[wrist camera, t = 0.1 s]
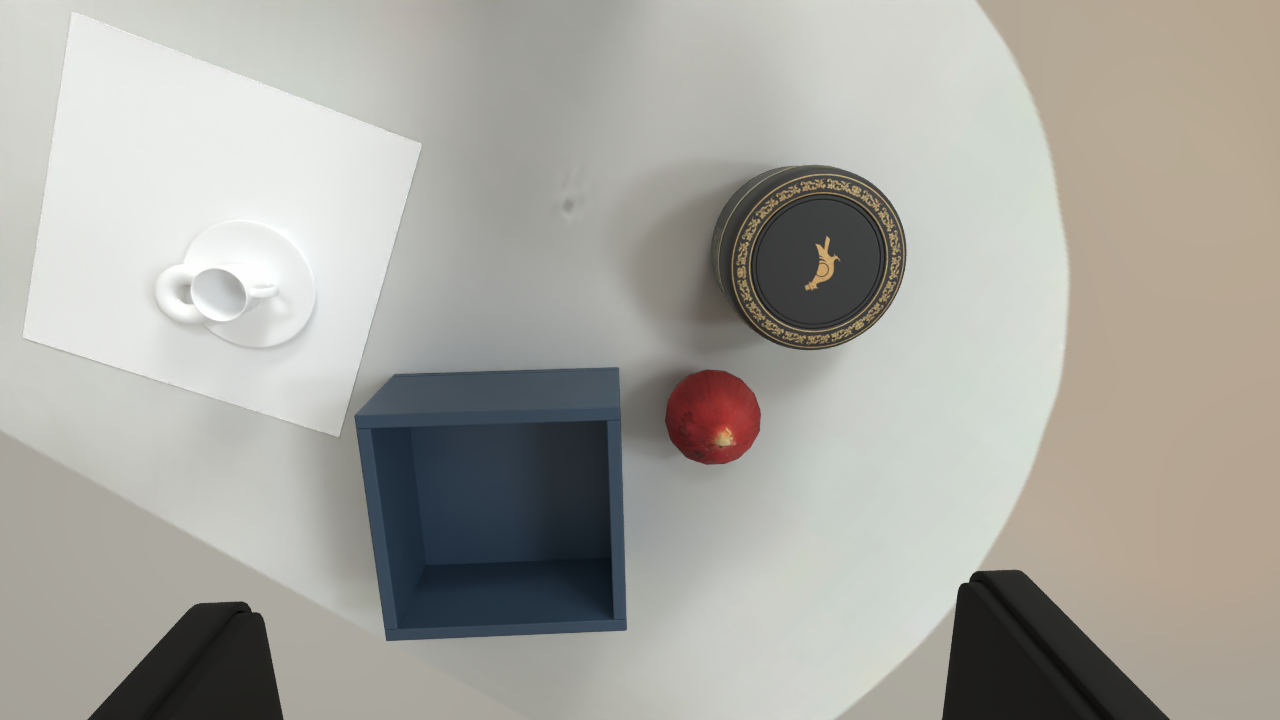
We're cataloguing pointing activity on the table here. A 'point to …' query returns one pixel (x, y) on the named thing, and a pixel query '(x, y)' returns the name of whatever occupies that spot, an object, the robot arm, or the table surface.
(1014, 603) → the robot arm
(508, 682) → the table surface
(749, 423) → the pomegranate
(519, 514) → the bin
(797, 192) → the jar
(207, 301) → the teacup and saucer
